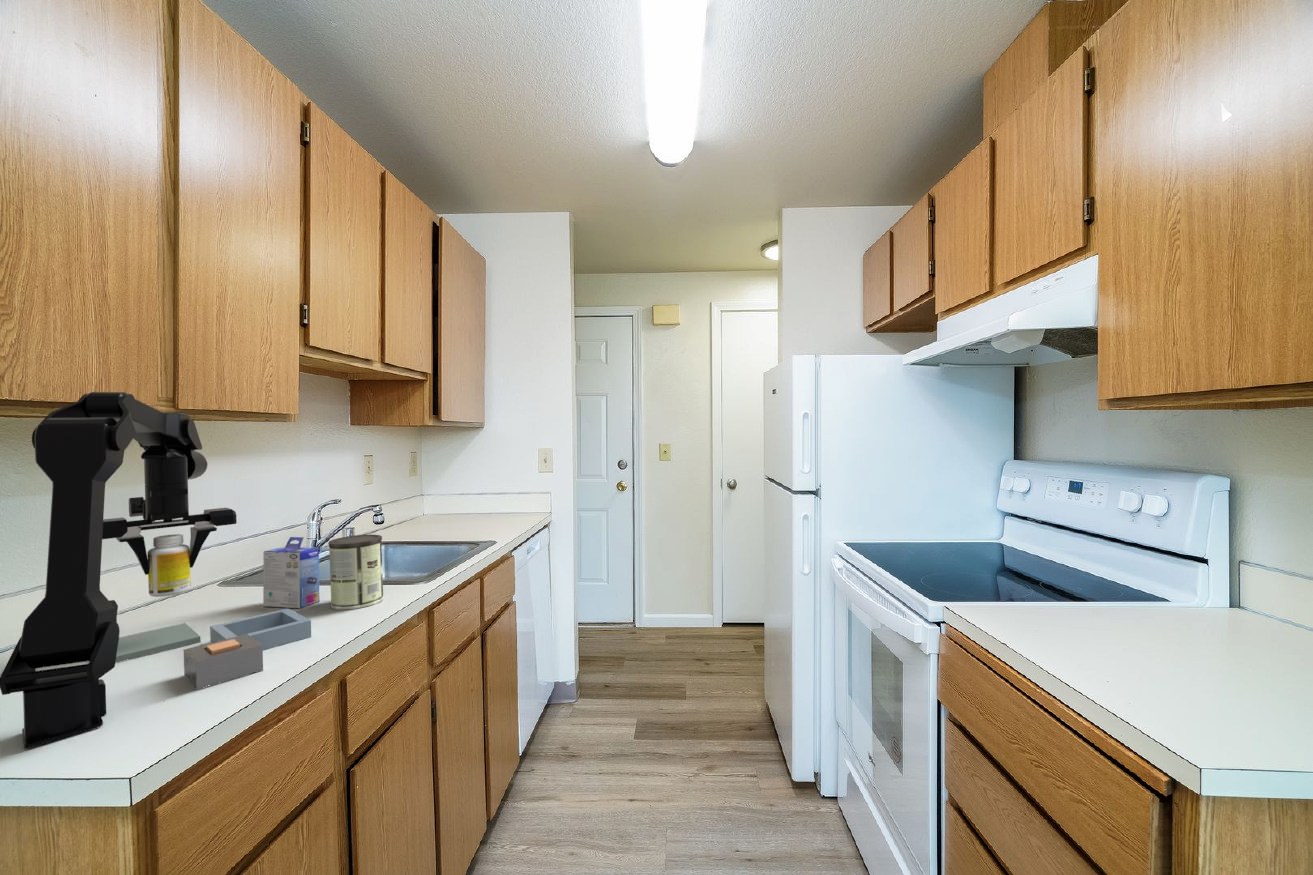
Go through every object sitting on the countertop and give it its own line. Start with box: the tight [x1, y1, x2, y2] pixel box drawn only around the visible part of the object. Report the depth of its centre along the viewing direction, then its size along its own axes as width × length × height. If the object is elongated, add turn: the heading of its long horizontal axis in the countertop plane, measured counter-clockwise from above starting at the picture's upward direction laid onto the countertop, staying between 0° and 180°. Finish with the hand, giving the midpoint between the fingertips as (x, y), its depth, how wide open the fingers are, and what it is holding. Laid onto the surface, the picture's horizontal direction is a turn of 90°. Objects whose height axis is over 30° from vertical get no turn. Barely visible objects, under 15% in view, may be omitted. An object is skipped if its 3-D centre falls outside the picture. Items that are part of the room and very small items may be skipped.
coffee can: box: [328, 534, 384, 611], centre depth 118 cm, size 10×10×14 cm
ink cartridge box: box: [262, 536, 320, 609], centre depth 118 cm, size 10×6×14 cm, turn 78°
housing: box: [209, 607, 312, 651], centre depth 97 cm, size 12×12×3 cm
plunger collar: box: [183, 634, 264, 690], centre depth 83 cm, size 8×8×4 cm
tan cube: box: [206, 639, 240, 655], centre depth 83 cm, size 3×3×3 cm
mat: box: [115, 622, 202, 664], centre depth 96 cm, size 12×12×1 cm
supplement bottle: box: [147, 533, 191, 598], centre depth 96 cm, size 6×6×10 cm
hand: (169, 570), depth 96 cm, fingers closed on supplement bottle, 6 cm apart
